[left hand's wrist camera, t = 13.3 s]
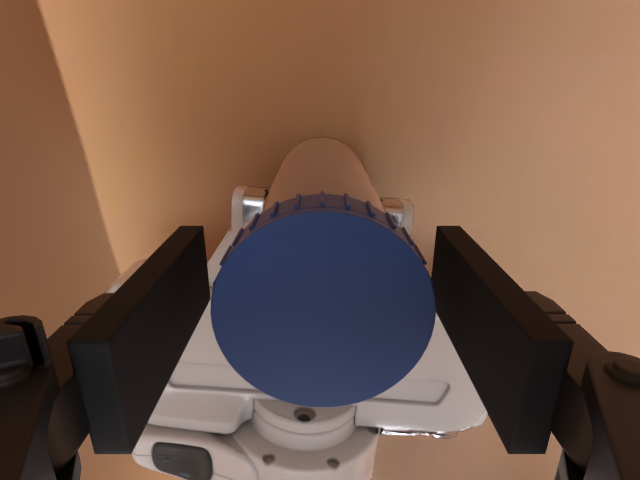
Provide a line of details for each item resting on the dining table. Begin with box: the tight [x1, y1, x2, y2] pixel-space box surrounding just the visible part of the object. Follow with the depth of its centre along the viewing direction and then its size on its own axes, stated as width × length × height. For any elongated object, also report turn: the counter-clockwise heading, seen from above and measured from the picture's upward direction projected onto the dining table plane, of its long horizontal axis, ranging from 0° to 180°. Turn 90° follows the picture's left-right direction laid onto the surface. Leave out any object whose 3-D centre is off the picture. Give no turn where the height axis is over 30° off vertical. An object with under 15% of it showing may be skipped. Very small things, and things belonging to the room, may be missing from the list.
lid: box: [210, 191, 436, 408], centre depth 11 cm, size 6×6×2 cm
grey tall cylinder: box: [258, 138, 386, 214], centre depth 18 cm, size 5×5×15 cm
